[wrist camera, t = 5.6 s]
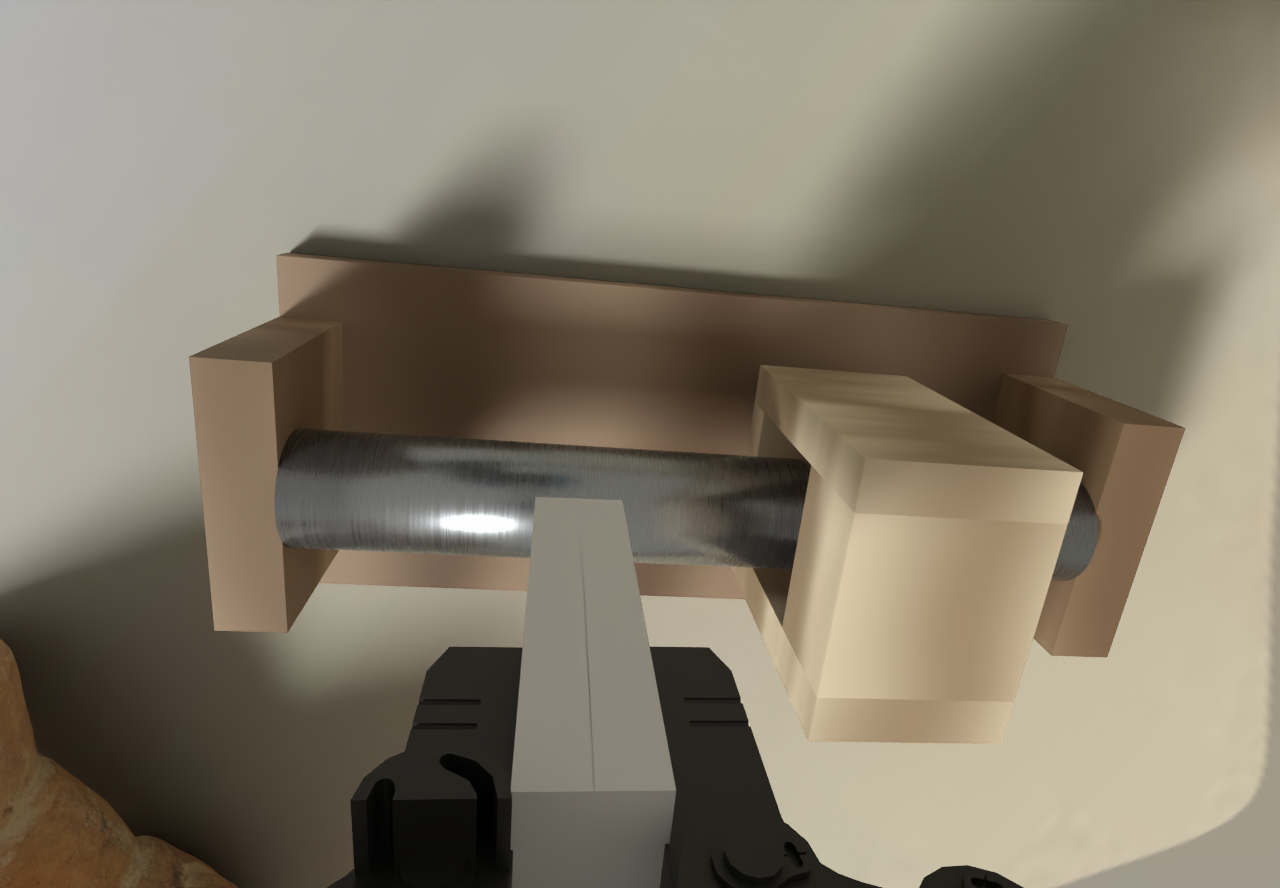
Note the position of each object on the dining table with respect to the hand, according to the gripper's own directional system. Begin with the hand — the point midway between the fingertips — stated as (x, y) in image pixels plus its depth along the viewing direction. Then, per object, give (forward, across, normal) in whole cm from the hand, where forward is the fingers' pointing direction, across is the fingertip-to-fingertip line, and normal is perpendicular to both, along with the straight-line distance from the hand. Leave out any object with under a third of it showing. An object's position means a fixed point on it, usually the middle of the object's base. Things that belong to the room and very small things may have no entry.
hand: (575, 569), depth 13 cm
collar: (+7, +7, -1) cm, 10 cm away
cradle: (+9, +3, -1) cm, 9 cm away
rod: (+5, +3, -1) cm, 6 cm away
